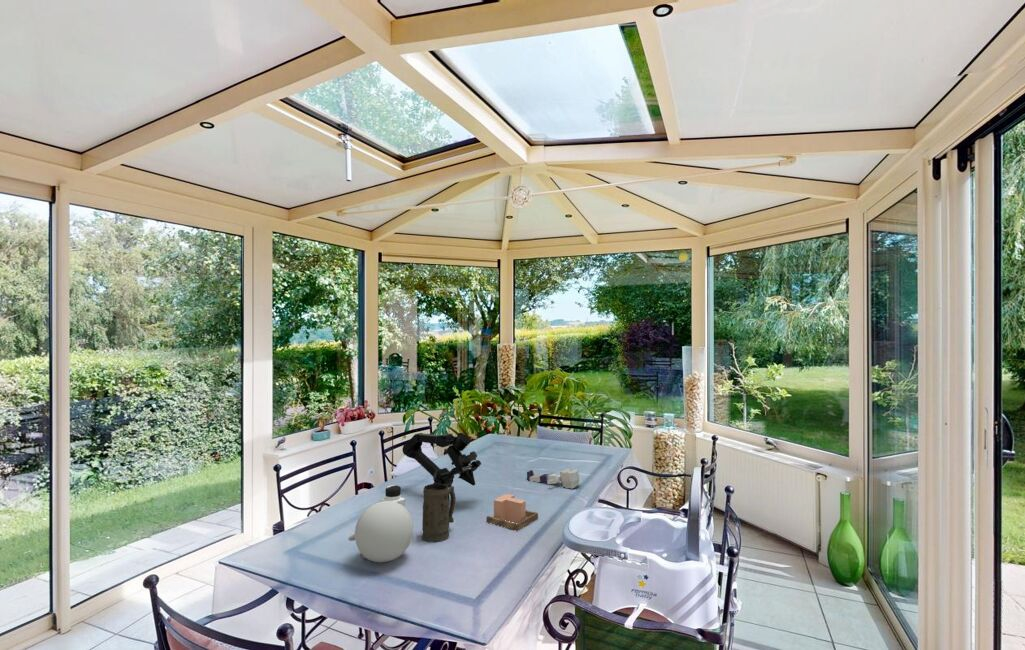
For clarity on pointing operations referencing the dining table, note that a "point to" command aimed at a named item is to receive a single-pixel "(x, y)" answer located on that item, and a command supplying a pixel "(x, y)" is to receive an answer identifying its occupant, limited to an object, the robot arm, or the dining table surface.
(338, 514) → the dining table surface
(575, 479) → the toy
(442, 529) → the beer stein
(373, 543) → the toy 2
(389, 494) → the container
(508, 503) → the t block
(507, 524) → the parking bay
